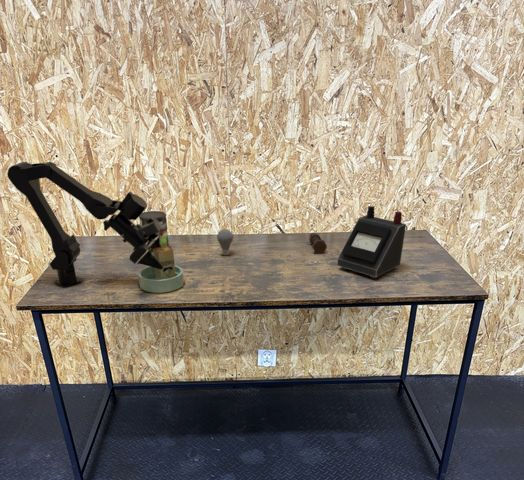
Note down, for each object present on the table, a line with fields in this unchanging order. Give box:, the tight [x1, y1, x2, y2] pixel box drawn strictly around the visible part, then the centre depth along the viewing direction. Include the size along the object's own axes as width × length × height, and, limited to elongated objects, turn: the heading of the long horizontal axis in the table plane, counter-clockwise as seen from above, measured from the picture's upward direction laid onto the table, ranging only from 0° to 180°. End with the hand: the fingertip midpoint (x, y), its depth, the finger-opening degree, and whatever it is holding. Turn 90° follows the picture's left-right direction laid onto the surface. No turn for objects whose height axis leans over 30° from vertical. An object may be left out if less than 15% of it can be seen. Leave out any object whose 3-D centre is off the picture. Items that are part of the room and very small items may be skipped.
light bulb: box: [216, 228, 234, 256], centre depth 188 cm, size 6×6×10 cm
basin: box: [138, 264, 185, 294], centre depth 165 cm, size 14×14×4 cm
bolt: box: [308, 232, 328, 255], centre depth 197 cm, size 6×5×15 cm
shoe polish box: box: [152, 246, 176, 280], centre depth 162 cm, size 5×5×12 cm
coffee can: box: [138, 210, 170, 255], centre depth 192 cm, size 10×10×14 cm
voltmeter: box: [336, 205, 407, 280], centre depth 173 cm, size 16×16×20 cm
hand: (165, 263), depth 162 cm, fingers open, 9 cm apart
